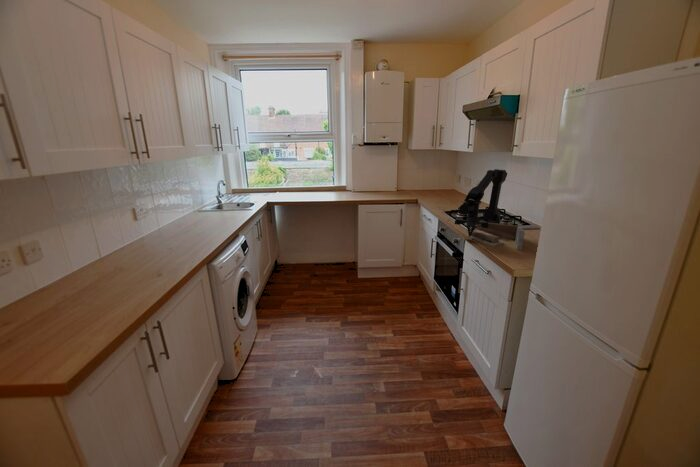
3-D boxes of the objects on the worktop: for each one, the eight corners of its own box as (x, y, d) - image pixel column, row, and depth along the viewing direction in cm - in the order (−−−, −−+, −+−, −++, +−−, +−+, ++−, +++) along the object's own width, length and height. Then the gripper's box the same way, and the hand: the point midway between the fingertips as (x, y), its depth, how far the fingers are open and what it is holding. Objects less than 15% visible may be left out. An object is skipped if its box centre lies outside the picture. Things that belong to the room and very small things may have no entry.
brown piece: (476, 233, 192) (479, 218, 189) (518, 238, 183) (521, 223, 180) (475, 244, 174) (477, 227, 171) (521, 250, 165) (524, 233, 162)
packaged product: (467, 230, 184) (478, 227, 189) (466, 237, 186) (477, 235, 191) (493, 239, 170) (504, 236, 174) (492, 247, 171) (503, 244, 176)
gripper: (455, 212, 174) (452, 238, 180) (490, 216, 167) (486, 242, 172) (457, 208, 184) (454, 232, 189) (490, 211, 177) (486, 236, 182)
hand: (469, 236), depth 183 cm, fingers closed
